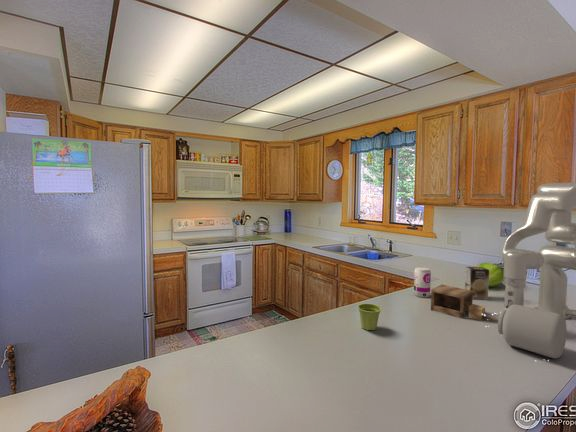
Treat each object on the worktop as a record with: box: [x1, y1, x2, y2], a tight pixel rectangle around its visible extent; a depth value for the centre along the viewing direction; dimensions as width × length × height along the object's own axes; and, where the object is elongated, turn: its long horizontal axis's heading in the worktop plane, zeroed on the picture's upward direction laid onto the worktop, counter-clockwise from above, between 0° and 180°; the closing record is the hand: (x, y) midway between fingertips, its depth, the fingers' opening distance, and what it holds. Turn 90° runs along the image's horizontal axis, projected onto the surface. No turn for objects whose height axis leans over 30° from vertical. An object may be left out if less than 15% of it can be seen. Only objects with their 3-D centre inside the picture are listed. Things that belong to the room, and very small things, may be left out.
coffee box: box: [464, 266, 489, 301], centre depth 164 cm, size 9×6×16 cm
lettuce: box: [475, 262, 504, 288], centre depth 185 cm, size 15×22×15 cm
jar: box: [482, 304, 568, 362], centre depth 111 cm, size 19×15×25 cm
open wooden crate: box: [430, 284, 474, 319], centre depth 145 cm, size 14×12×10 cm
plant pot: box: [357, 302, 382, 331], centre depth 127 cm, size 9×9×9 cm
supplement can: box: [413, 266, 432, 299], centre depth 168 cm, size 8×8×15 cm
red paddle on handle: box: [468, 303, 498, 323], centre depth 133 cm, size 17×5×6 cm, turn 43°
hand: (512, 324), depth 128 cm, fingers closed on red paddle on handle, 3 cm apart
